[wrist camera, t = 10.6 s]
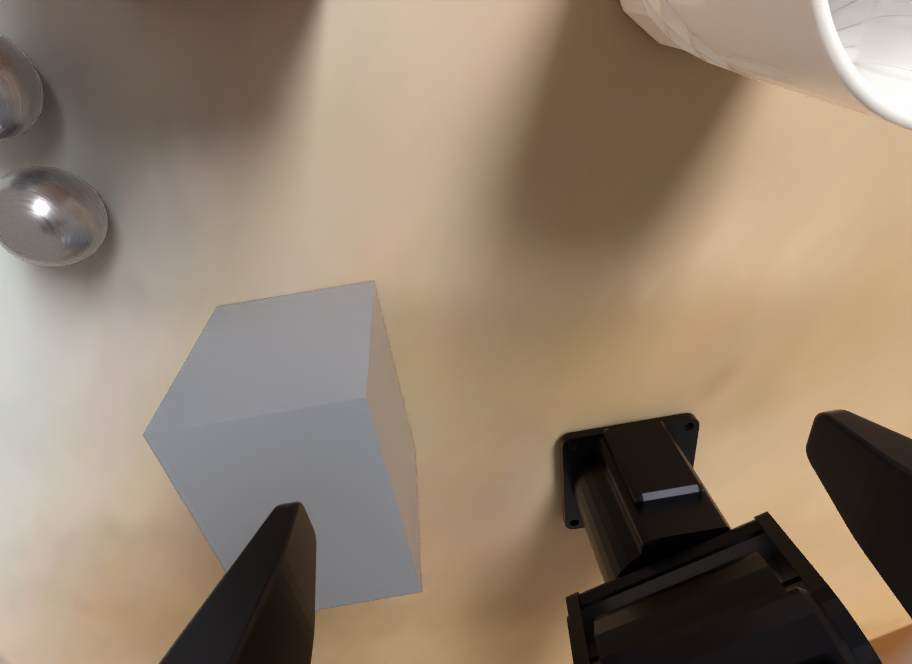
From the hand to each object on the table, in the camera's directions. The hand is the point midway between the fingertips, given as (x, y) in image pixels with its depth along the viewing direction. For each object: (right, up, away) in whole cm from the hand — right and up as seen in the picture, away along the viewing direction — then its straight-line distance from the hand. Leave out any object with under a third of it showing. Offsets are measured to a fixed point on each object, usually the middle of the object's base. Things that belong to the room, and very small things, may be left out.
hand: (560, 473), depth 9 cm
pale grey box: (-7, 0, +13) cm, 15 cm away
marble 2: (-14, +7, +8) cm, 18 cm away
